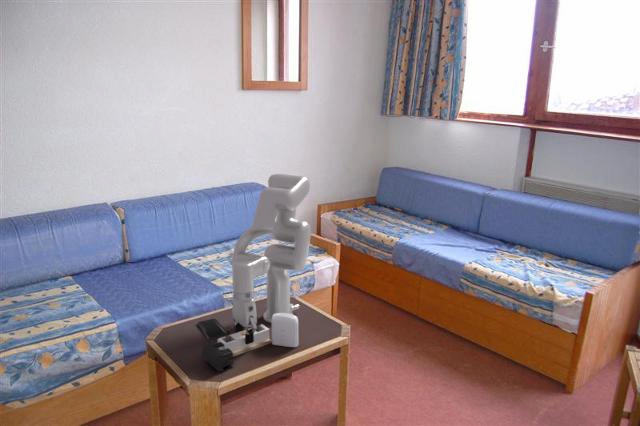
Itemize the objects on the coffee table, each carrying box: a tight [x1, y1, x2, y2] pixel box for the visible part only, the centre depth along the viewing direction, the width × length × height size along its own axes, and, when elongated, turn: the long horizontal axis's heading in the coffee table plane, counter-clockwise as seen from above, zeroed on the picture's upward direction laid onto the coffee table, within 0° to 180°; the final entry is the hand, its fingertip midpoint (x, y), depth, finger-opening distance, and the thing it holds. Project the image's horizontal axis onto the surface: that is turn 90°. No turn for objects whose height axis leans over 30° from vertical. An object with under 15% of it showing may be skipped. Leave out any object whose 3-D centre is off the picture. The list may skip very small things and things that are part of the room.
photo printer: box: [271, 313, 299, 348], centre depth 186 cm, size 10×4×12 cm, turn 76°
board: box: [226, 324, 272, 360], centre depth 184 cm, size 19×7×6 cm, turn 129°
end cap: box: [200, 342, 234, 373], centre depth 171 cm, size 10×7×7 cm
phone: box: [197, 318, 228, 340], centre depth 197 cm, size 8×1×15 cm
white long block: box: [217, 324, 271, 352], centre depth 184 cm, size 19×5×4 cm, turn 130°
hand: (244, 338), depth 184 cm, fingers open, 6 cm apart
